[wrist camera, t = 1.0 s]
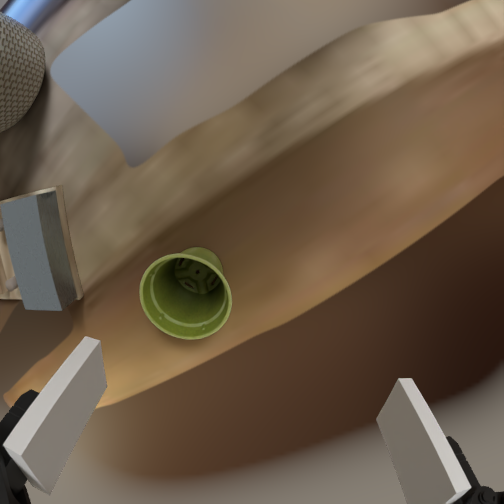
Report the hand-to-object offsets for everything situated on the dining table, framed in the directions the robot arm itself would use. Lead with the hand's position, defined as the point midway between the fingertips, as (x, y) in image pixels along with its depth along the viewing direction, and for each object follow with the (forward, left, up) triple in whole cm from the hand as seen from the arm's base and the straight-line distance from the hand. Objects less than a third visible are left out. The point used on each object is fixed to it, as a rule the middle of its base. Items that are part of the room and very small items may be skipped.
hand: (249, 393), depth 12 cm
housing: (-2, -29, -24) cm, 38 cm away
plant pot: (+3, -7, -26) cm, 27 cm away
